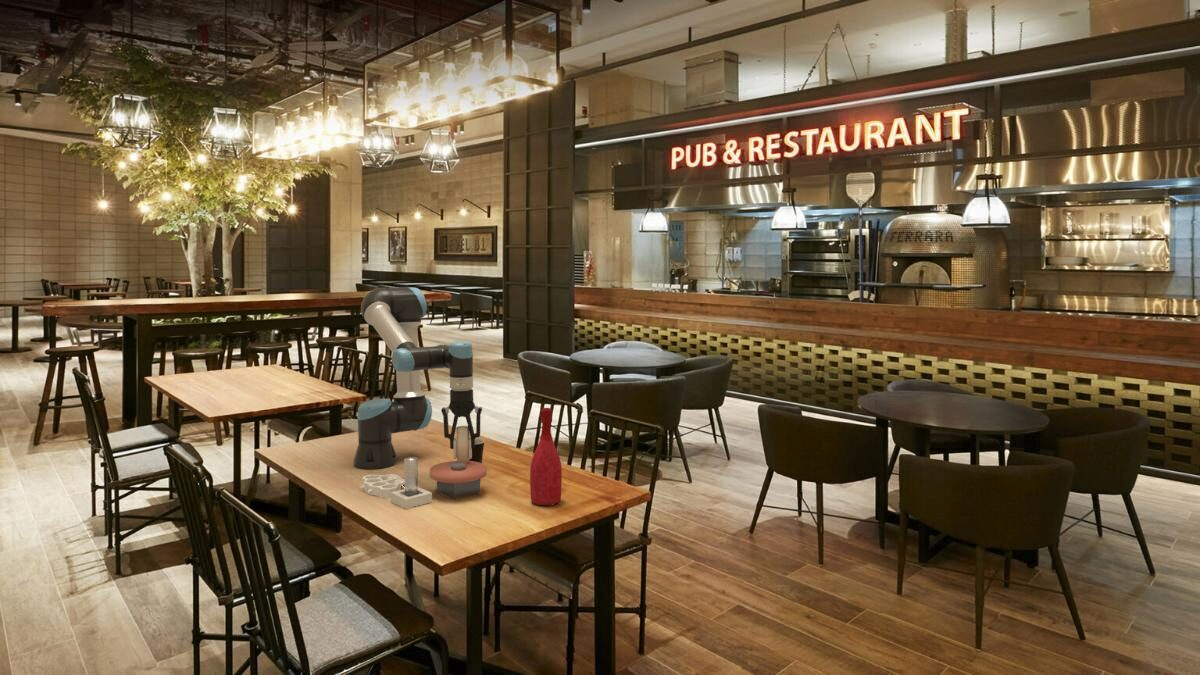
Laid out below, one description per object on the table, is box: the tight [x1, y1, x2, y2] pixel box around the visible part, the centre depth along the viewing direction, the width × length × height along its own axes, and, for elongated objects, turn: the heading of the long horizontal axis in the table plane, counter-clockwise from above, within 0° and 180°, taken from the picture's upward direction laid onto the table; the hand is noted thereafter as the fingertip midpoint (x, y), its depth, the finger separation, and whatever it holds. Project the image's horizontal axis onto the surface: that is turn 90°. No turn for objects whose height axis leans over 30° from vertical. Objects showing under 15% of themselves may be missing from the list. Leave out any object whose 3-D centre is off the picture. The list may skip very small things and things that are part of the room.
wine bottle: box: [529, 407, 563, 506], centre depth 224 cm, size 10×10×30 cm
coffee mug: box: [469, 438, 485, 464], centre depth 261 cm, size 12×9×10 cm
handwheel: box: [429, 425, 488, 483], centre depth 232 cm, size 18×18×14 cm
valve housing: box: [436, 479, 481, 500], centre depth 233 cm, size 10×10×6 cm
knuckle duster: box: [359, 473, 405, 499], centre depth 235 cm, size 3×18×15 cm
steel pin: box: [403, 456, 419, 497], centre depth 223 cm, size 4×4×14 cm
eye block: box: [390, 486, 433, 510], centre depth 223 cm, size 9×9×3 cm
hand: (462, 457), depth 239 cm, fingers open, 4 cm apart
